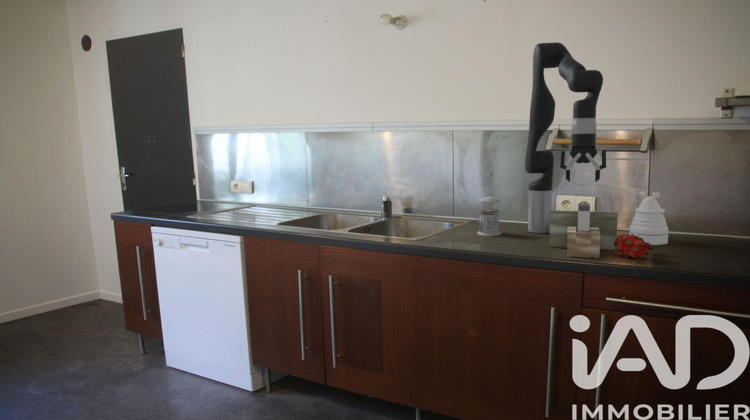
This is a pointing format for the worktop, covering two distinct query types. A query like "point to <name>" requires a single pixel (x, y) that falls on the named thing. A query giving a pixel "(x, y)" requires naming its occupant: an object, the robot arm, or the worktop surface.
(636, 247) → the dragon fruit
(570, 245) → the small shelf
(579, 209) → the brushed steel bar
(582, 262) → the worktop surface
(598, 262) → the worktop surface
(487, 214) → the french press
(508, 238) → the worktop surface
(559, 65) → the robot arm
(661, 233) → the honey pot
